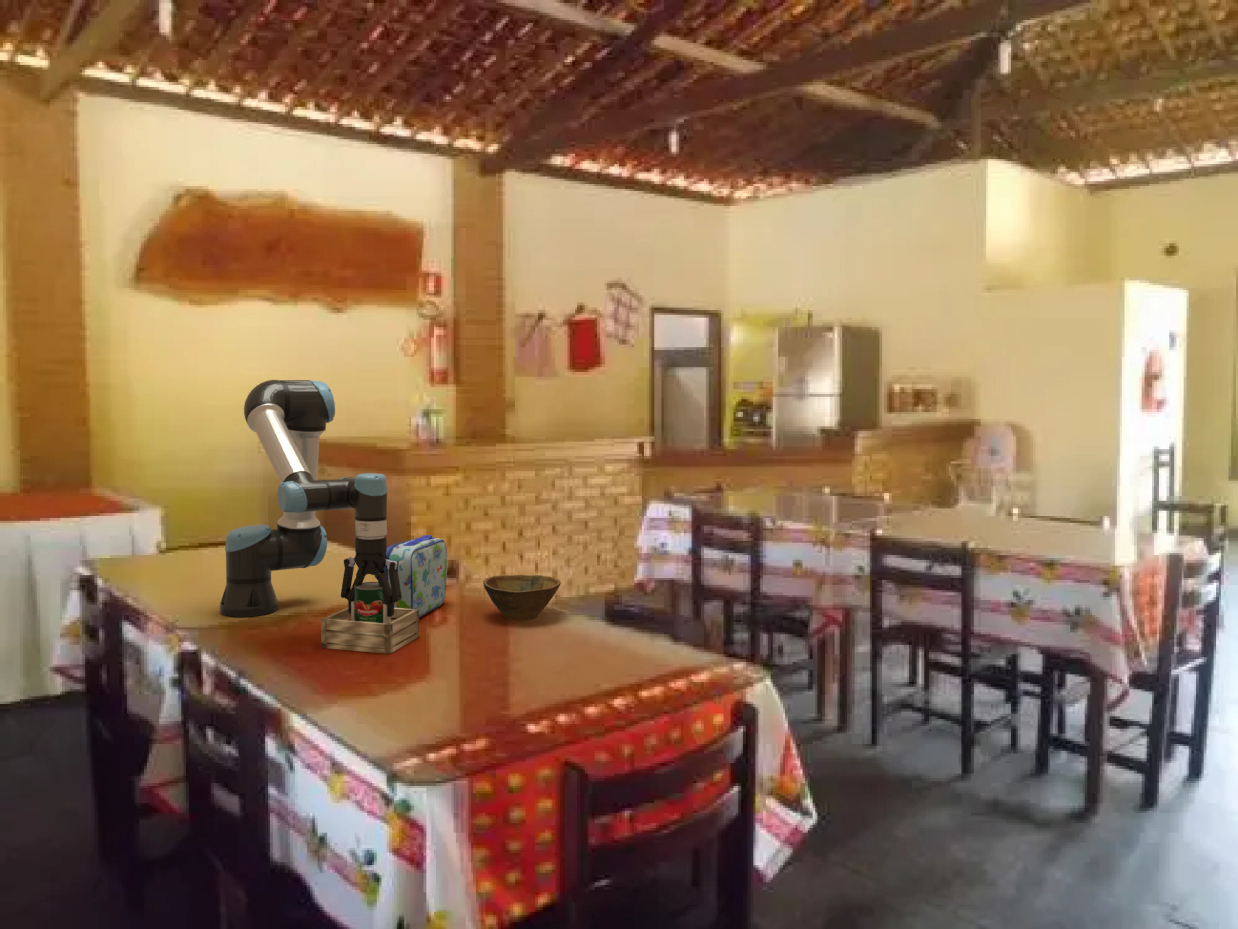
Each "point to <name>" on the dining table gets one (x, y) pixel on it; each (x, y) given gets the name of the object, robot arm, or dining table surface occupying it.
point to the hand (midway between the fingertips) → (371, 627)
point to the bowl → (521, 594)
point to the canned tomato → (369, 602)
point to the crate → (369, 632)
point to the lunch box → (420, 572)
